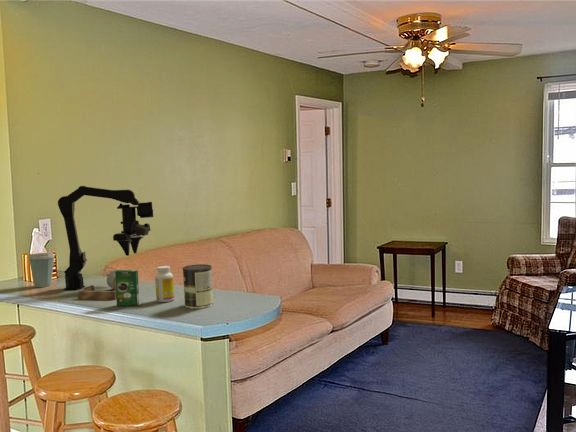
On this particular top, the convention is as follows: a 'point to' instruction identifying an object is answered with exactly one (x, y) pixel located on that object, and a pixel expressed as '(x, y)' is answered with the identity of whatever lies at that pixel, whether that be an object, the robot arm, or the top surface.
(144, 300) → the top surface
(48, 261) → the disposable coffee cup
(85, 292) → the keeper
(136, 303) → the coffee box
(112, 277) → the ceramic mug
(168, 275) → the supplement bottle
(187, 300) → the coffee can
